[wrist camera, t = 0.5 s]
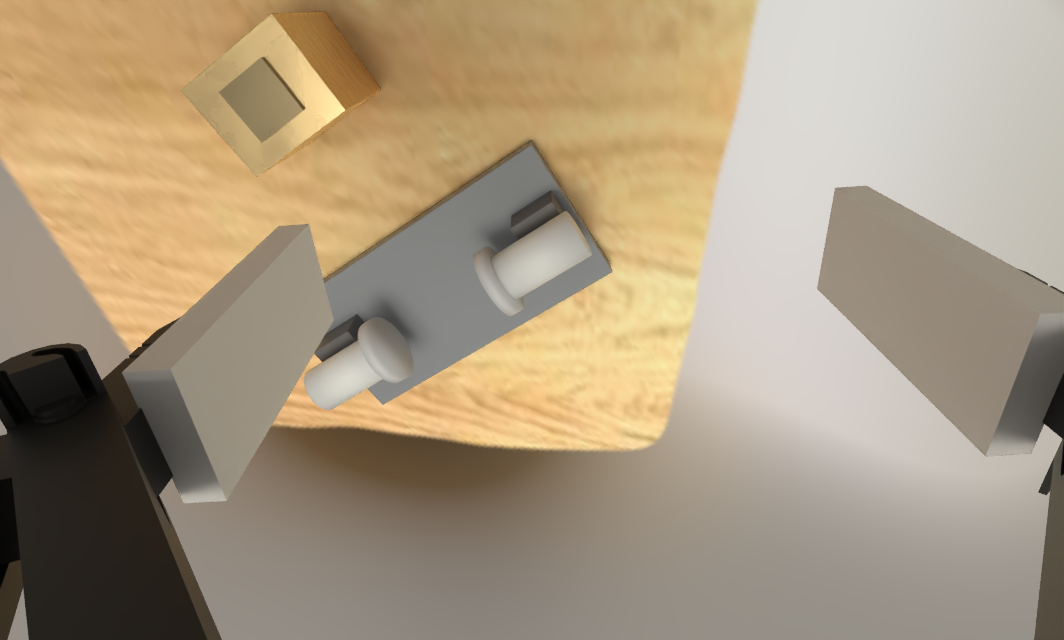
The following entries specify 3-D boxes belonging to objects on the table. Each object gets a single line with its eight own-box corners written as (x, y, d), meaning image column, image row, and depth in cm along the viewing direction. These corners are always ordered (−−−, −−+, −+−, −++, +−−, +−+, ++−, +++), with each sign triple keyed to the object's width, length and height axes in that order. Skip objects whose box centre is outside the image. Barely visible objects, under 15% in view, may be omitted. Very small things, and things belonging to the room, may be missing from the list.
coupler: (249, 73, 36) (177, 91, 28) (324, 11, 34) (268, 13, 27) (307, 144, 38) (254, 178, 30) (381, 89, 36) (343, 111, 29)
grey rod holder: (297, 296, 42) (253, 352, 36) (531, 140, 37) (532, 170, 31) (386, 393, 46) (362, 460, 40) (609, 263, 41) (625, 314, 35)
